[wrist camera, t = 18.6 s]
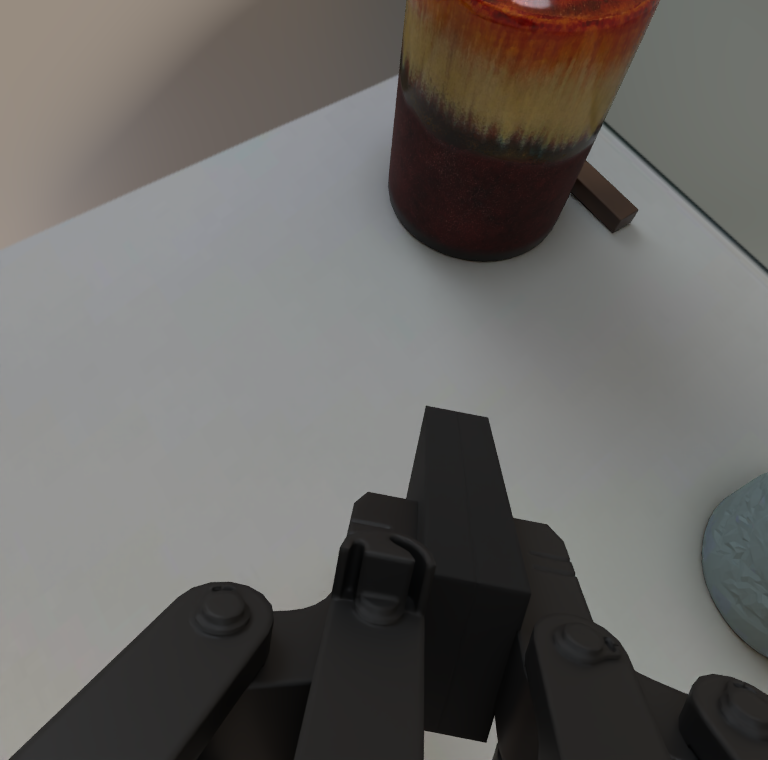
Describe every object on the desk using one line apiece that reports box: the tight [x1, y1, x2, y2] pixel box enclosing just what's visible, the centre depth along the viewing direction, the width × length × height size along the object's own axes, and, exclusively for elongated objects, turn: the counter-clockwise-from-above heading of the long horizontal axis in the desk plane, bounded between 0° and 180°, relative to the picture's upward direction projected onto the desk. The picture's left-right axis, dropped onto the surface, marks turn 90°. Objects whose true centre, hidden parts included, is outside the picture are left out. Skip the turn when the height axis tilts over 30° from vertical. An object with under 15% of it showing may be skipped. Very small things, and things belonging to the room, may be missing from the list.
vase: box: [388, 0, 660, 261], centre depth 30 cm, size 11×11×20 cm
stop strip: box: [571, 160, 638, 232], centre depth 40 cm, size 14×2×1 cm, turn 35°
